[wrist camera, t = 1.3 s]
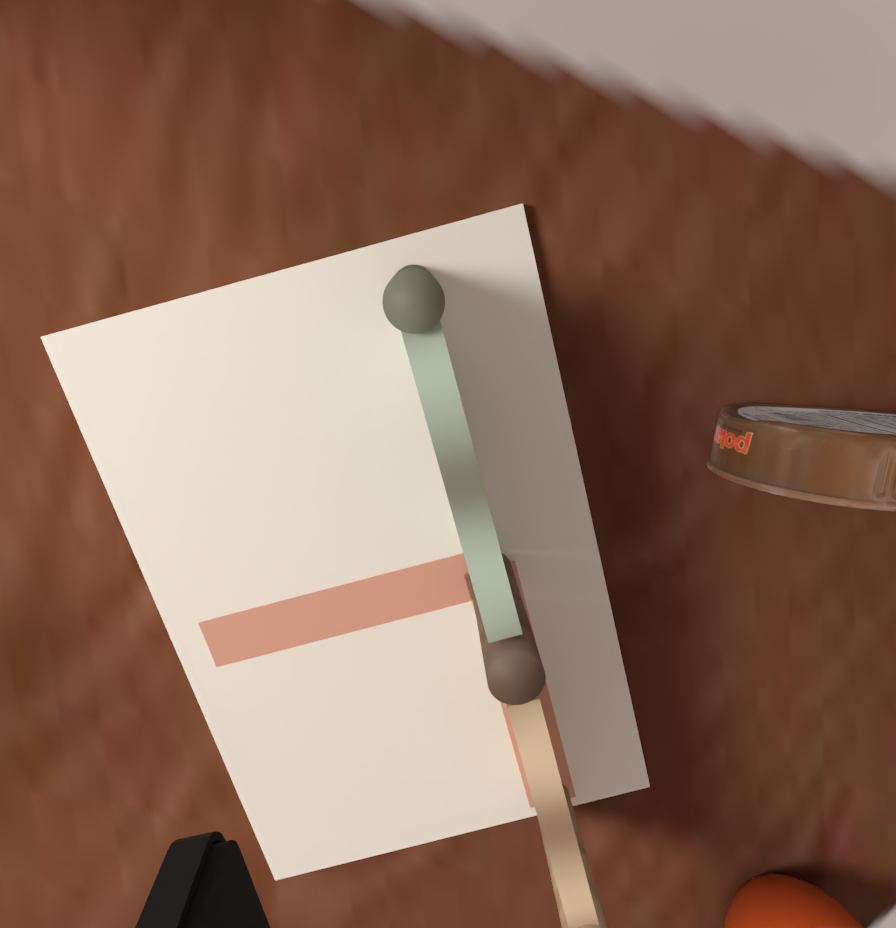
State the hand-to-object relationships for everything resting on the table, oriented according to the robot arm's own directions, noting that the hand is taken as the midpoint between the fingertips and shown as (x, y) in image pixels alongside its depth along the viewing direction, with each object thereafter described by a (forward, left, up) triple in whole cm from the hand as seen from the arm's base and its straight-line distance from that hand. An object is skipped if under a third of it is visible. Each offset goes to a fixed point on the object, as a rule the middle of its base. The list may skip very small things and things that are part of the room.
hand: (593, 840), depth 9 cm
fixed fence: (+13, -1, -22) cm, 26 cm away
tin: (+5, +16, -23) cm, 28 cm away
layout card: (+6, -6, -23) cm, 24 cm away
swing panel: (-1, -1, -22) cm, 22 cm away
